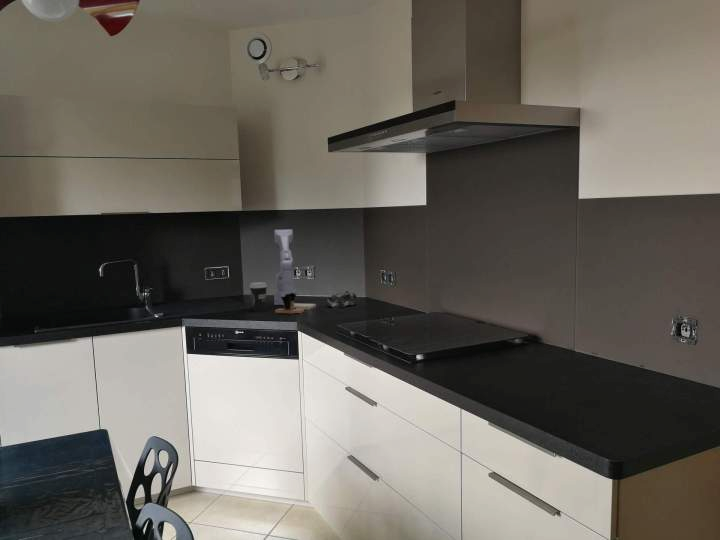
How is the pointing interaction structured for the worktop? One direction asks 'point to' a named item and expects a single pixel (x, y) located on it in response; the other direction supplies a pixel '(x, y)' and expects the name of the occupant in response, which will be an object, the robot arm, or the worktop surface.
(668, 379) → the worktop surface
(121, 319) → the worktop surface
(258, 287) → the coffee cup
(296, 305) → the pad
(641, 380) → the worktop surface
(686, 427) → the worktop surface
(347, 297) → the foil
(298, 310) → the stub
